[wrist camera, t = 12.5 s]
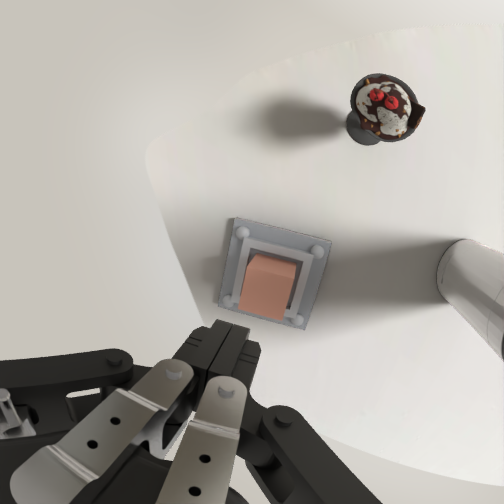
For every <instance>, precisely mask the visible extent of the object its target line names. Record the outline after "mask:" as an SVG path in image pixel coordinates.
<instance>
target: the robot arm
mask: <svg viewBox="0 0 504 504" xmlns="http://www.w3.org/2000/svg"><path fill="white" fill-rule="evenodd" d="M437 285H438V289H439V291H440V293H441V295H442V296H443V297H444V298H445V299H446V300H447V301H448V302H449V303H450V304H451V305H452V306H453V307H454V308H455V309H456V311H457V312H458V313H459V314H460V315H461V316H462V317H463V318H464V319H465V320H466V321H467V322H468V323H469V324H470V325H471V326H472V327H473V328H474V329H475V330H476V331H477V333H478V334H479V335H480V336H481V337H482V338H483V339H484V340H485V341H486V342H487V343H488V345H489V346H490V347H491V348H492V349H493V350H494V351H495V352H496V353H497V355H498V356H499V357H500V358H501V359H502V360H503V362H504V254H503V253H500V252H498V251H496V250H494V249H492V248H490V247H488V246H485V245H483V244H481V243H478V242H476V241H473V240H469V239H465V240H460V241H458V242H456V243H454V244H453V245H452V246H450V247H449V248H448V250H447V251H446V252H445V253H444V255H443V257H442V258H441V261H440V263H439V266H438V270H437ZM249 333H250V329H249V328H246V327H242V326H239V325H235V324H234V325H233V324H232V323H228V322H225V321H222V320H218V319H217V320H216V321H215V322H214V324H213V325H212V327H211V328H207V327H204V326H201V327H199V328H197V329H195V330H193V332H192V333H191V334H190V335H189V338H187V339H186V341H185V343H183V345H182V346H181V347H180V348H179V350H178V351H177V352H176V353H175V355H174V356H173V357H172V359H165V360H161V361H160V362H158V363H157V364H156V365H155V366H154V367H145V366H140V365H134V364H133V359H132V357H131V355H129V354H128V353H127V352H125V351H123V350H120V349H105V350H98V351H90V352H83V353H75V354H67V355H59V356H49V357H40V358H29V359H17V360H3V361H0V504H249V503H248V502H247V501H246V500H245V499H244V498H243V497H242V496H241V495H240V494H239V493H238V492H236V491H235V490H234V489H232V488H231V487H229V483H230V478H231V474H232V469H233V465H234V460H235V456H236V455H238V456H239V457H241V458H243V459H245V463H246V466H247V468H248V470H249V471H250V473H251V474H252V476H253V478H254V479H255V481H256V482H257V484H258V485H259V487H260V488H261V490H262V492H263V493H264V494H265V496H266V497H267V499H268V500H269V502H270V503H271V504H382V503H381V502H380V501H379V500H378V499H377V498H376V497H375V496H374V495H373V494H372V493H371V492H370V491H369V489H368V488H367V487H365V485H363V483H362V482H361V481H360V480H359V479H358V478H357V477H356V476H355V475H354V474H353V473H352V472H351V471H350V470H349V468H348V467H347V466H346V465H345V464H344V463H343V462H342V461H341V460H340V459H339V458H338V456H337V455H336V454H335V453H334V452H333V451H332V450H331V449H330V448H329V447H328V445H327V444H326V443H325V442H324V441H323V440H322V439H321V437H320V436H319V435H318V434H317V433H316V432H315V430H314V429H313V428H312V427H311V426H310V425H309V423H308V422H307V421H306V420H305V419H304V418H303V416H302V415H301V414H300V413H299V412H298V411H296V410H295V409H293V408H291V407H287V406H282V405H276V406H272V407H269V408H268V409H267V408H265V407H263V406H261V405H260V404H258V403H257V402H256V401H255V400H254V399H253V398H252V397H251V395H250V392H249V390H250V387H251V383H252V380H253V377H254V374H255V370H256V367H257V364H258V360H259V357H260V353H261V348H260V345H259V343H258V342H254V341H251V340H248V337H249ZM94 388H100V393H97V394H91V395H85V396H79V397H72V398H68V397H66V395H67V394H69V393H71V392H77V391H83V390H89V389H94ZM192 411H195V412H196V413H195V416H194V419H193V421H192V420H191V421H190V422H189V423H188V426H187V428H186V431H185V433H184V435H183V438H182V440H181V443H180V445H179V448H178V450H177V453H176V455H175V457H174V460H173V461H169V460H164V458H165V456H166V454H167V453H168V451H169V449H170V448H171V447H172V446H173V444H174V443H175V441H176V440H177V438H178V437H179V435H180V434H181V432H182V431H183V429H184V428H185V426H186V425H187V420H188V418H189V416H190V414H191V413H192Z"/></svg>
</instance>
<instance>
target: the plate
mask: <svg viewBox="0 0 504 504" xmlns="http://www.w3.org/2000/svg"><path fill="white" fill-rule="evenodd" d="M331 244H332V243H331V241H328V240H324V239H320V238H317V237H313V236H309V235H305V234H301V233H297V232H293V231H290V230H286V229H282V228H278V227H274V226H270V225H266V224H262V223H257V222H253V221H249V220H245V219H241V218H235V220H234V225H233V230H232V235H231V240H230V245H229V250H228V255H227V260H226V266H225V271H224V276H223V281H222V286H221V292H220V297H219V302H218V307H222V308H225V309H229V310H232V311H236V312H239V313H243V314H246V315H250V316H253V317H257V318H260V319H264V320H268V321H272V322H275V323H279V324H283V325H287V326H291V327H295V328H299V329H303V330H305V328H306V325H307V322H308V319H309V316H310V313H311V310H312V307H313V304H314V301H315V298H316V294H317V291H318V288H319V285H320V281H321V278H322V275H323V271H324V268H325V265H326V261H327V258H328V254H329V251H330V247H331ZM257 253H259V254H263V255H267V256H271V257H275V258H279V259H282V260H286V261H290V262H294V263H297V264H296V271H295V277H294V281H293V285H292V289H291V292H290V296H289V299H288V303H287V306H286V310H285V313H284V316H283V320H282V321H280V320H276V319H272V318H269V317H265V316H261V315H258V314H254V313H250V312H247V311H243V310H240V309H238V305H239V301H240V296H241V292H242V287H243V283H244V278H245V274H246V269H247V266H248V265H249V263H250V262H251V260H252V259H253V258H254V256H255V255H256V254H257Z"/></svg>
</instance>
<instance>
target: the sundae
mask: <svg viewBox="0 0 504 504" xmlns="http://www.w3.org/2000/svg"><path fill="white" fill-rule="evenodd" d="M350 103H351V108H352V112H351V113H350V114H349V116H348V118H347V129H348V132H349V134H350V135H351V137H352V138H353V139H354V140H355V141H357V142H358V143H360V144H363V145H374V144H377V143H378V142H379V141H384V142H396V141H400V140H403V139H405V138H407V137H408V136H410V135H411V134H412V133H413V132H414V131H415V129H416V128H417V127H418V125H419V123H420V122H421V119H422V117H423V114H424V112H425V107H423V106H421V105H419V104H418V101H417V99H416V96H415V94H414V93H413V91H412V90H411V89H410V87H409V86H408V85H407V84H405V83H404V82H403V81H401V80H399V79H398V78H396V77H393V76H390V75H386V74H380V73H379V74H370V75H367V76H366V77H364V78H362V79H361V80H360V81H359V82H358V83H357V84H356V86H355V87H354V89H353V91H352V94H351V100H350Z"/></svg>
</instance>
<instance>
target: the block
mask: <svg viewBox="0 0 504 504" xmlns="http://www.w3.org/2000/svg"><path fill="white" fill-rule="evenodd" d="M296 264H297V263H294V262H290V261H286V260H282V259H279V258H275V257H271V256H267V255H263V254H259V253H257V254H256V255H255V256H254V258H253V259H252V260H251V262H250V263H249V265H248V266H247V269H246V274H245V278H244V283H243V287H242V292H241V296H240V301H239V305H238V309H240V310H243V311H247V312H250V313H254V314H258V315H261V316H265V317H269V318H272V319H276V320H280V321H282V320H283V316H284V313H285V310H286V306H287V303H288V299H289V296H290V292H291V289H292V285H293V281H294V277H295V271H296Z"/></svg>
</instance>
